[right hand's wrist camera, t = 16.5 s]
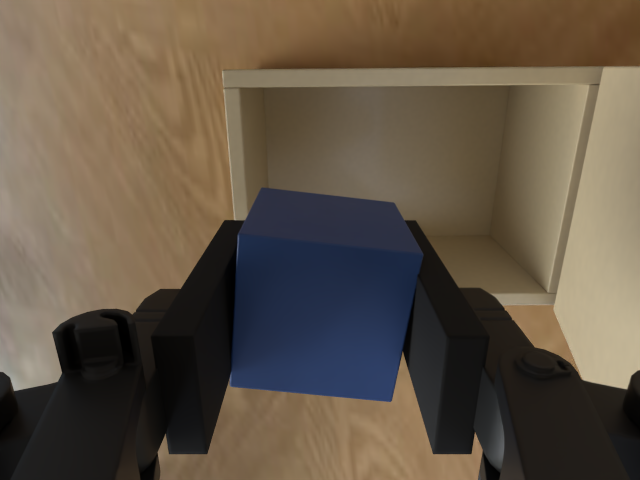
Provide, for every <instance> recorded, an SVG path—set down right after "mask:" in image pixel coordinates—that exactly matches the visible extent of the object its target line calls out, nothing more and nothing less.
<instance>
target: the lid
mask: <svg viewBox="0 0 640 480" xmlns="http://www.w3.org/2000/svg"><path fill="white" fill-rule="evenodd" d="M554 312H555V315H556V317H557V320H558V322H559V324H560V327H561V329H562V331H563V334H564V336H565V338H566V341H567V343H568V346H569V348H570V350H571V353H572V355H573V357H574V360H575V362H576V364H577V367H578V369H579V372H580V374H581V376H582V379H583V380H585V381H588V382H592V383H597V384H602V385H607V386H612V387H617V388H623V389H627V388H628V385H629V382H630V378H631V375H633V374H634V373H635V372H637V371H638V370H640V66H605V67H604V68H603V72H602V77H601V81H600V86H599V91H598V96H597V101H596V106H595V111H594V115H593V120H592V125H591V130H590V135H589V140H588V145H587V149H586V154H585V159H584V164H583V169H582V174H581V179H580V183H579V188H578V193H577V198H576V203H575V208H574V212H573V217H572V222H571V227H570V232H569V237H568V242H567V246H566V251H565V256H564V261H563V266H562V271H561V276H560V280H559V285H558V290H557V295H556V300H555V305H554Z"/></svg>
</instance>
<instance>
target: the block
mask: <svg viewBox="0 0 640 480" xmlns="http://www.w3.org/2000/svg"><path fill="white" fill-rule="evenodd" d="M422 259H423V253H422V251H421V249H420V247H419V246H418V244H417V242H416V240H415V238H414V237H413V235H412V233H411V231H410V229H409V228H408V226H407V224H406V222H405V221H404V219H403V217H402V215H401V213H400V212H399V210H398V208H397V206H396V204H395V203H394V202H386V201H377V200H369V199H360V198H351V197H342V196H333V195H325V194H316V193H307V192H298V191H290V190H281V189H272V188H263V187H262V188H261V189H260V191H259V193H258V195H257V197H256V199H255V201H254V203H253V205H252V207H251V209H250V211H249V213H248V215H247V217H246V219H245V221H244V223H243V225H242V227H241V229H240V231H239V233H238V239H237V258H236V276H235V294H234V313H233V331H232V349H231V375H230V386H231V387H239V388H249V389H260V390H270V391H281V392H292V393H302V394H313V395H323V396H334V397H344V398H355V399H365V400H376V401H386V402H391V401H392V397H393V393H394V388H395V384H396V379H397V374H398V370H399V365H400V361H401V356H402V351H403V347H404V342H405V338H406V333H407V328H408V324H409V319H410V315H411V310H412V305H413V301H414V296H415V291H416V284H417V274H419V273H420V269H421V264H422Z"/></svg>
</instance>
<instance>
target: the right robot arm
mask: <svg viewBox="0 0 640 480" xmlns="http://www.w3.org/2000/svg"><path fill="white" fill-rule="evenodd" d="M244 221H245V220H224V222H223V224H222V225H221V227H220V228H219V230H218V231H217V233H216V235H215V236H214V238H213V239H212V241H211V242H210V244H209V246H208V247H207V249H206V250H205V252H204V253H203V255H202V256H201V258H200V260H199V261H198V263H197V264H196V266H195V267H194V269H193V271H192V272H191V274H190V275H189V277H188V278H187V280H186V282H185V283H184V285H183V286H182V288H181V289H160V290H158V291H156V292H155V293H153V294H152V295H150V296H148V297H147V298H145V299H144V301H143V302H142V303H141V304H140V306H139V307H138V308H137V310H136V312H134V314H133V315H132V314H131V313H129V312H128V311H124V310H120V309H101V310H96V311H90V312H86V313H83V314H80V315H78V316H75V317H72V318H70V319H69V320H67V321H65V322H63V323H62V324H60V325H59V326H58V327H57V328H56V329H55V330H54V331H53V332H52V333H53V338H54V342H55V346H56V350H57V354H58V358H59V362H60V366H61V370H62V375H61V377H60V379H59V381H58V382H56V383H52V384H48V385H43V386H38V387H33V388H28V389H23V390H18V391H14V390H13V386H12V383H11V380H10V377H8V376H7V375H6V374H5V373H3V372H0V480H159V479H160V465H159V459H158V453H157V452H158V450H159V447H160V445H161V443H162V440H163V438H164V436H165V433H166V438H167V444H168V450H169V454H207V453H208V450H209V446H210V443H211V439H212V436H213V433H214V429H215V426H216V422H217V419H218V416H219V412H220V409H221V405H222V402H223V399H224V395H225V392H226V388H227V385H228V382H229V378H230V375H231V349H232V331H233V313H234V294H235V276H236V258H237V239H238V233H239V231H240V229H241V227H242V225H243V223H244ZM404 221H405V222H406V224H407V226H408V228H409V229H410V231H411V233H412V235H413V237H414V238H415V240H416V242H417V244H418V246H419V247H420V249H421V251H422V253H423V259H422V264H421V269H420V273H419V274H417V284H416V291H415V296H414V301H413V305H412V310H411V315H410V319H409V324H408V328H407V333H406V338H405V342H404V347H403V353H404V356H405V360H406V363H407V367H408V370H409V373H410V377H411V380H412V384H413V387H414V390H415V394H416V397H417V401H418V404H419V407H420V411H421V414H422V418H423V421H424V424H425V428H426V431H427V435H428V438H429V441H430V445H431V448H432V452H433V454H471V453H472V447H473V440H474V434H475V432H476V435H477V437H478V439H479V442H480V444H481V446H482V449H483V453H482V459H481V465H480V471H479V476H478V480H640V370H638V371H637V372H635V373H634V374H633V375H631V378H630V382H629V385H628V388H627V389H623V388H617V387H612V386H607V385H602V384H597V383H592V382H588V381H585V380H581V378H580V376H579V374H578V372H577V371H576V370H575V368H574V367H573V366H572V365H571V363H569V362H568V361H566V360H565V359H563V358H562V357H560V356H559V355H556V354H554V353H551V352H549V351H547V350H544V349H539V348H535V347H534V346H533V345H532V343H531V342H530V341H529V339H528V338H527V337H526V336H525V334H524V333H523V332H522V330H521V329H520V328H519V327H518V325H517V324H516V323H515V321H514V320H512V318H511V316H510V315H509V314H508V312H507V311H505V310H504V307H503V306H502V305H501V303H500V302H499V301H498V299H497V298H496V297H495V296H493V295H491V294H490V293H488V292H486V291H485V290H483V289H482V288H459V287H458V286H457V284H456V283H455V281H454V279H453V278H452V276H451V275H450V273H449V272H448V270H447V268H446V267H445V265H444V264H443V262H442V261H441V259H440V257H439V256H438V254H437V253H436V251H435V250H434V248H433V246H432V245H431V243H430V242H429V240H428V239H427V237H426V236H425V234H424V232H423V231H422V229H421V228H420V226H419V225H418V223H417V221H416V220H404Z"/></svg>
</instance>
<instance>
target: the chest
mask: <svg viewBox="0 0 640 480" xmlns="http://www.w3.org/2000/svg"><path fill="white" fill-rule="evenodd" d="M604 67H605V66H555V67H432V68H324V69H237V70H222V78H223V86H224V87H225V88H224V102H225V114H226V126H227V138H228V150H229V162H230V174H231V187H232V199H233V211H234V220H245V219H246V217H247V215H248V213H249V211H250V209H251V207H252V205H253V203H254V201H255V199H256V197H257V195H258V193H259V191H260V189H261V188H262V187H263V188H272V189H281V190H290V191H298V192H307V193H316V194H325V195H333V196H342V197H351V198H360V199H369V200H377V201H386V202H394V203H395V204H396V206H397V208H398V210H399V212H400V213H401V215H402V217H403V219H404V220H416V221H417V223H418V225H419V226H420V228H421V229H422V231H423V232H424V234H425V236H426V237H427V239H428V240H429V242H430V243H431V245H432V246H433V248H434V250H435V251H436V253H437V254H438V256H439V257H440V259H441V261H442V262H443V264H444V265H445V267H446V268H447V270H448V272H449V273H450V275H451V276H452V278H453V279H454V281H455V283H456V284H457V286H458V287H459V288H482V289H483V290H485V291H486V292H488V293H490V294H491V295H493V296H495V297H496V298H497V299H498V301H499V302H500V303H501V305H555V300H556V295H557V290H558V285H559V280H560V276H561V271H562V266H563V261H564V256H565V251H566V246H567V242H568V237H569V232H570V227H571V222H572V217H573V212H574V208H575V203H576V198H577V193H578V188H579V183H580V179H581V174H582V169H583V164H584V159H585V154H586V149H587V145H588V140H589V135H590V130H591V125H592V120H593V115H594V111H595V106H596V101H597V96H598V91H599V86H600V81H601V77H602V72H603V68H604Z"/></svg>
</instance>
